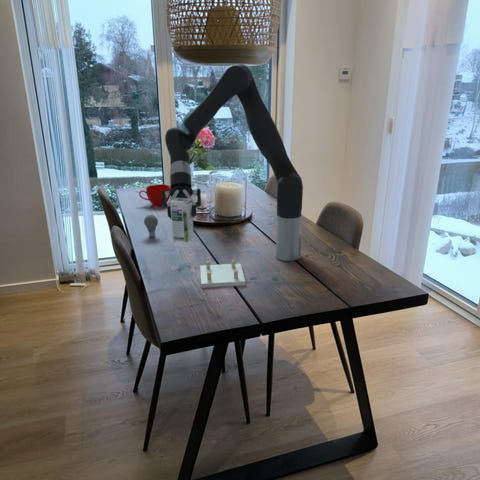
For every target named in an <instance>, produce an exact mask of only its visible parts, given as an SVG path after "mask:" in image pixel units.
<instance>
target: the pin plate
mask: <svg viewBox="0 0 480 480" xmlns="http://www.w3.org/2000/svg"><path fill="white" fill-rule="evenodd" d="M199 267H200V268H199V270H200V286H201V289H202V288H205V289H206V288H216V287H217V288H219V287H239V286H240V287H241V286H246V279H245V275H244V272H243V268H242V264H241V263H236V260H235V259H232V260H231V263H225V264H223V263H221V264H211V261H206V262H205V264H202V265H201V264H200V266H199Z"/></svg>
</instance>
